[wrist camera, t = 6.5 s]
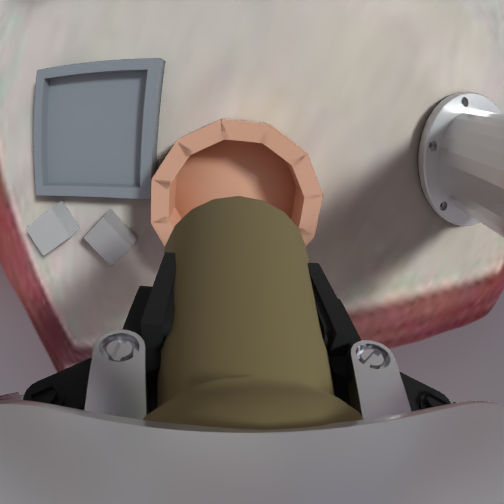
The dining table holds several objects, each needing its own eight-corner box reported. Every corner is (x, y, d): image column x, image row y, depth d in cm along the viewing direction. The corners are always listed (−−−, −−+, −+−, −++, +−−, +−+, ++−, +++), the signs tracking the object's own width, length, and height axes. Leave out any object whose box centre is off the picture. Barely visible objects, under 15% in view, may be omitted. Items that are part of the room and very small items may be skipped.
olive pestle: (219, 342, 15) (225, 575, 5) (134, 250, 12) (24, 523, 3) (330, 280, 14) (441, 521, 4) (258, 165, 11) (408, 495, 1)
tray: (165, 61, 18) (160, 58, 17) (155, 193, 23) (150, 199, 21) (46, 71, 17) (37, 70, 16) (44, 189, 21) (36, 195, 20)
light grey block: (63, 199, 22) (51, 208, 20) (80, 226, 23) (69, 237, 21) (38, 219, 23) (25, 229, 21) (54, 245, 24) (43, 256, 22)
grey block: (138, 236, 24) (131, 247, 22) (118, 254, 25) (111, 266, 23) (111, 208, 23) (102, 217, 21) (92, 228, 24) (83, 238, 22)
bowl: (318, 130, 21) (333, 135, 18) (294, 264, 26) (303, 286, 23) (166, 114, 20) (154, 116, 17) (160, 253, 25) (152, 275, 22)
